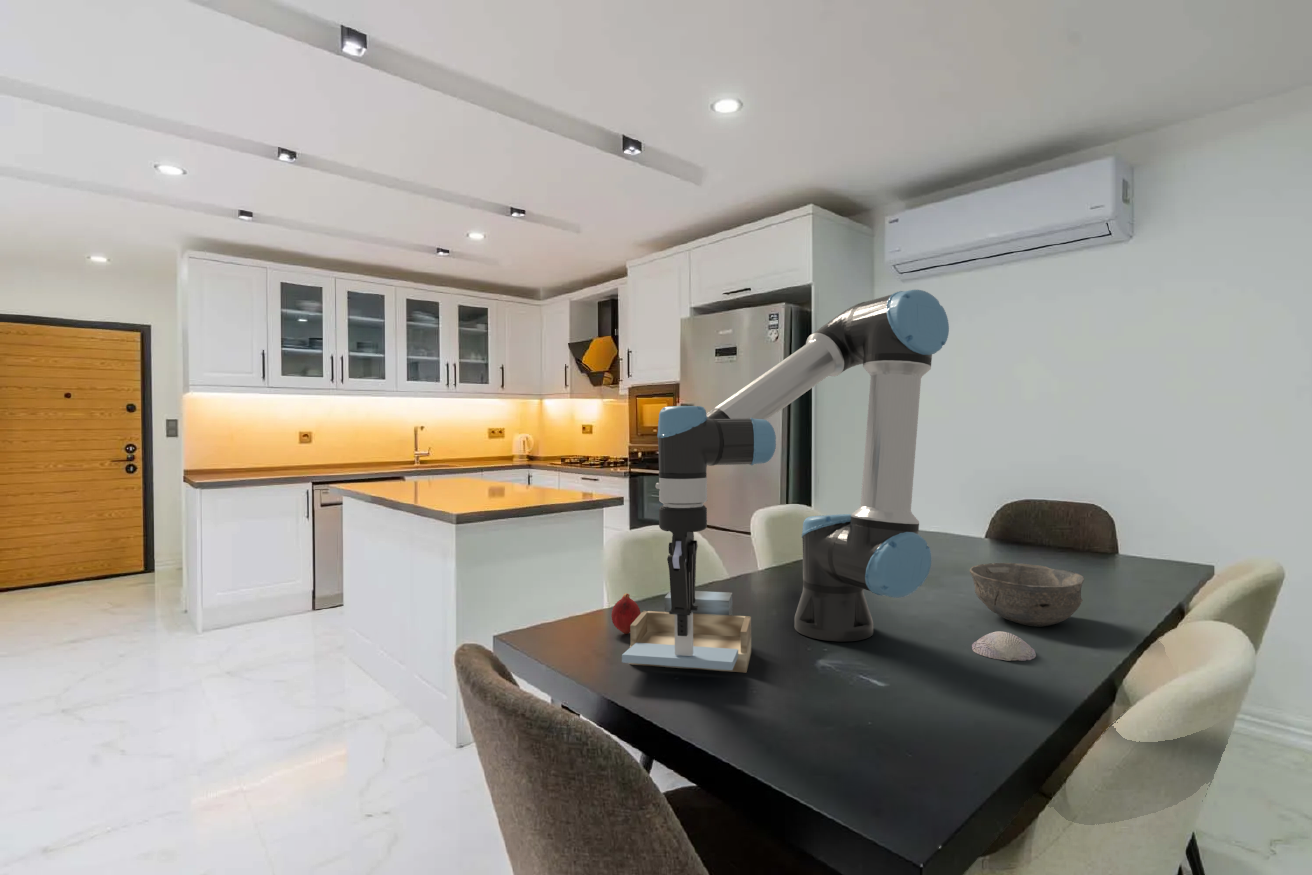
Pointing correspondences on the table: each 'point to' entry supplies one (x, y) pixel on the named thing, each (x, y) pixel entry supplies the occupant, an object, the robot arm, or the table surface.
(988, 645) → the seashell
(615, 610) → the onion
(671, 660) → the panel
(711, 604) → the open wooden box
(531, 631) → the table surface
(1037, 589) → the bowl
